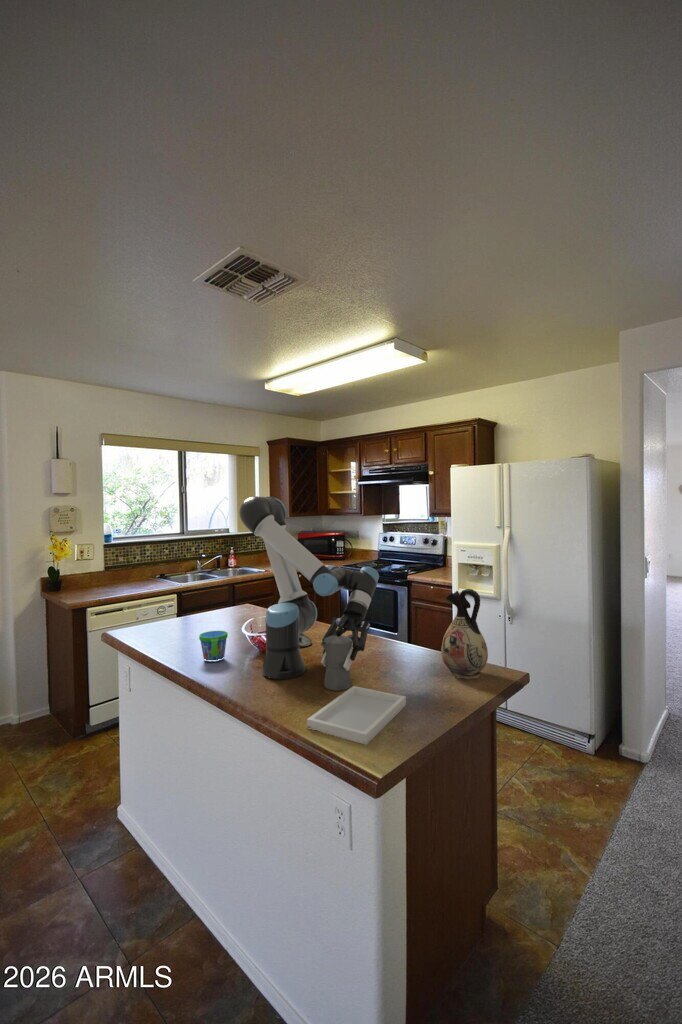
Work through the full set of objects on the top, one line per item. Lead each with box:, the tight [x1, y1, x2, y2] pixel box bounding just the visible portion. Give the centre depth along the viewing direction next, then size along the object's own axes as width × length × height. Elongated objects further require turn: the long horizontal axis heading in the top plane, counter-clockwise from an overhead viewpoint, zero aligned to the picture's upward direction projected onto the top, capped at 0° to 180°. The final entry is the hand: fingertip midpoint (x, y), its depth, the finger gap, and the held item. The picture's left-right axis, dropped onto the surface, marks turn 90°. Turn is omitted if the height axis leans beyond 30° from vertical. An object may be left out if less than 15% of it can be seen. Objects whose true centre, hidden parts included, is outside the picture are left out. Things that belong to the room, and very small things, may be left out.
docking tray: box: [306, 685, 407, 746], centre depth 126 cm, size 17×25×2 cm
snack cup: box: [198, 630, 228, 660], centre depth 177 cm, size 16×10×10 cm
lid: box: [299, 633, 312, 648], centre depth 195 cm, size 11×10×5 cm
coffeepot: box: [320, 629, 360, 692], centre depth 149 cm, size 15×9×18 cm, turn 125°
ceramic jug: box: [440, 588, 489, 680], centre depth 155 cm, size 17×15×30 cm
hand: (334, 666), depth 146 cm, fingers closed on coffeepot, 8 cm apart
